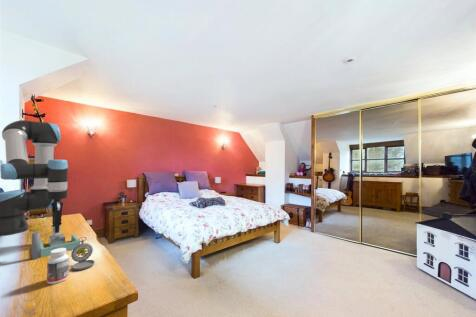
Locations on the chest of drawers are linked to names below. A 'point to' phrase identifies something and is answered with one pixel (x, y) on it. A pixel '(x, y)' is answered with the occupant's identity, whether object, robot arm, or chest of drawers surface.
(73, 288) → the chest of drawers surface
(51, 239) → the grey rectangular block
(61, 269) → the pill bottle
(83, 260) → the pocket watch
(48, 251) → the keeper
